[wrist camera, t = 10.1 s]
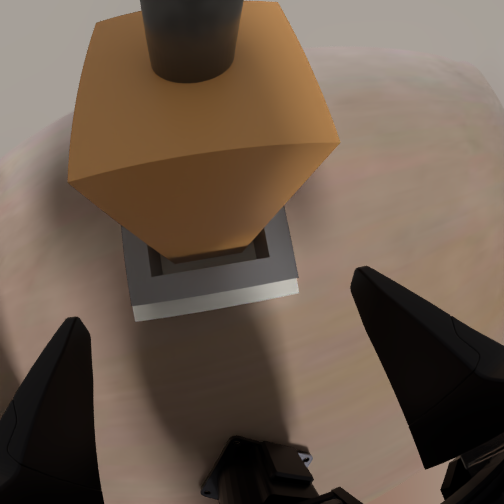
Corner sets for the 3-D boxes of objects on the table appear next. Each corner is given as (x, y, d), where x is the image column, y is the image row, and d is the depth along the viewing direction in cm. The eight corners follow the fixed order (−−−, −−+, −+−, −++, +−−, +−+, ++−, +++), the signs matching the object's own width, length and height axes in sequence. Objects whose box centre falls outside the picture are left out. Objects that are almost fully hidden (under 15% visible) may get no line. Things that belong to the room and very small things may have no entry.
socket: (294, 292, 18) (320, 293, 13) (139, 319, 16) (116, 329, 12) (264, 149, 19) (279, 114, 14) (122, 170, 17) (102, 139, 13)
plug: (241, 252, 17) (416, 59, 2) (175, 264, 16) (-15, 107, 1) (230, 189, 17) (299, -64, 2) (165, 199, 16) (78, -45, 2)
